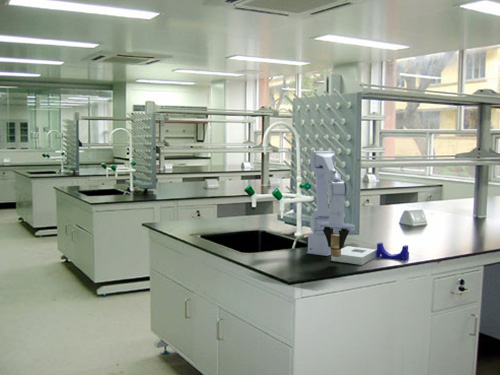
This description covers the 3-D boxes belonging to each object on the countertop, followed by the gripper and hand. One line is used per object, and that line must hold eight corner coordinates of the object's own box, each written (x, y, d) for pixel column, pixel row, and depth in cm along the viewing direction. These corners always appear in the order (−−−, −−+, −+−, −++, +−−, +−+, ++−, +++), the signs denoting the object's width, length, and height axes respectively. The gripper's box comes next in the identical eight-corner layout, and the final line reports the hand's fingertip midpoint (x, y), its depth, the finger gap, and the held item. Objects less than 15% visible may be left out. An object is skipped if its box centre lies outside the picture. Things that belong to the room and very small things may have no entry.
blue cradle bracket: (408, 259, 206) (409, 244, 205) (405, 261, 202) (406, 246, 201) (380, 255, 212) (380, 241, 211) (376, 257, 208) (377, 243, 208)
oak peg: (328, 255, 194) (329, 235, 193) (332, 253, 197) (333, 233, 197) (338, 257, 192) (338, 236, 191) (342, 255, 195) (343, 235, 194)
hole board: (331, 260, 202) (331, 253, 202) (347, 252, 216) (347, 246, 216) (362, 264, 195) (362, 257, 195) (376, 256, 209) (376, 249, 209)
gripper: (314, 212, 194) (314, 246, 195) (350, 215, 186) (349, 251, 187) (322, 210, 199) (322, 243, 201) (357, 213, 192) (356, 248, 193)
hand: (335, 247), depth 194 cm, fingers closed on oak peg, 4 cm apart
